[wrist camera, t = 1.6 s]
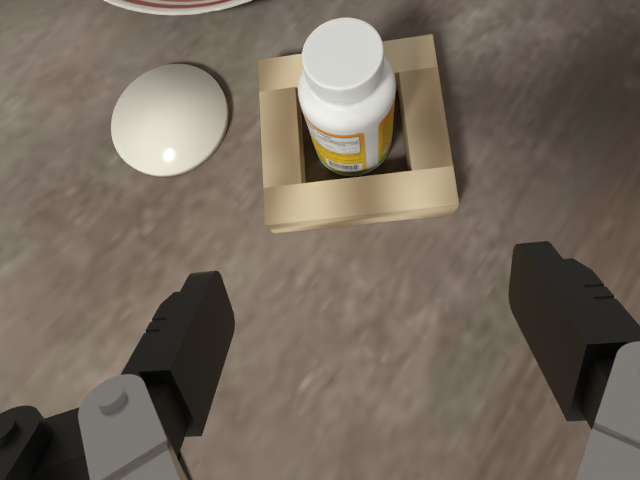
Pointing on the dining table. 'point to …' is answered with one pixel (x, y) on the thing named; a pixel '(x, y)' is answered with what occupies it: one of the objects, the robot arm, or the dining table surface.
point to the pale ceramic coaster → (170, 120)
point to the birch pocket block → (367, 191)
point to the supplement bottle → (347, 96)
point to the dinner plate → (176, 6)
